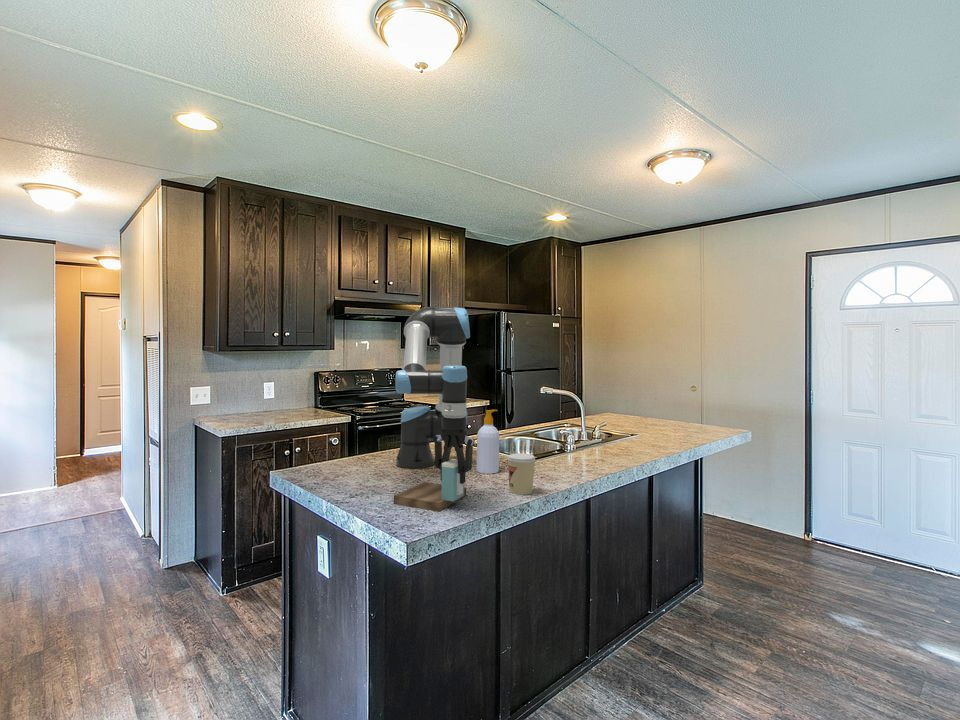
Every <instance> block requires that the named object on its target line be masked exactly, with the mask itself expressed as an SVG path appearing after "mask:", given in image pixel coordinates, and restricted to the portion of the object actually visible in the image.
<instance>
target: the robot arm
mask: <svg viewBox="0 0 960 720" xmlns="http://www.w3.org/2000/svg"><path fill="white" fill-rule="evenodd" d="M469 320H470V319H469V314H468V311H467V309H465V308H463V307H454V306H453V307H452V306H451V307H450V306H447V307H446V306H445V307H443V306H441V307H438V306H435V307H434V306H427V307H421V308H419V309H418V310H416V311H414V312H413V313H412V314H411V315H410V316H409V317H408V318H407V319H406V322H405V323H404V326H403V335H404V337H405V342H404V343H405V346H404V354H403V355H404V357H403V367H402V369H401V370H397V371H396V372H395V380H394V381H395V383H394V385H395V392H396V393H398V394H405V395H420V394H421V395H423V394H424V395H436V394H437V395H439V396H438V397H439V400H438V403H437V404H436V405H435V407H434V409H431V407H430V406H428V405H425V406H414V407H409V408H405V409H403V410H402V411H401V415H400V448H399V450H398V452H397V456H396V462H395V465H396V466H397V467H399V468H404V469H424V468H429V467H432V466H434V467H435V468H436V469H439V470H440V481H441V482H442V463H444V462H446V461H449V460H450V456H451V452H452V449H453V448H454V451H455V453H456V459H457V461H458V467H459V472H458V473H457V495H460V494H462V493H463V483H464V484H465V483H466V476H467V475H466V473H468V472H470V471H472V468H473V454H474V453H473V452H474V451H473V450H474V444H475V441H476V439H475V438H471V437H469V436H468V434H467V424H468V410H467V390H468V369H467V367H466V366H465V365H463V364H462V361H463V346H464V345H465V344H467V339H470V338H471V331H470V322H469ZM429 338H435V340H436V341H435V342H436V344H437V345H438V346H439V370H429V369H428V370H427V347H428V346H427V341H428V339H429ZM431 439H433V442H434V456H433V452H432V449H431V445H430V440H431ZM442 441H443V442H442ZM464 442H465V453H464ZM443 444H444V445H443Z"/></svg>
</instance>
